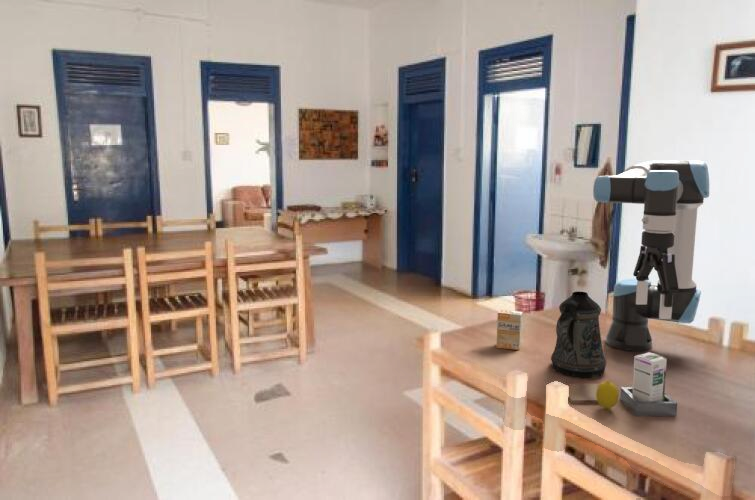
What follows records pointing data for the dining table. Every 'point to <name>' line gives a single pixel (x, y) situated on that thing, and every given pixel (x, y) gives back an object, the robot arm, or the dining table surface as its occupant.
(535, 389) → the dining table surface
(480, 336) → the dining table surface
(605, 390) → the lemon
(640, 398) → the syrup box
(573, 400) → the walnut board
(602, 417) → the dining table surface
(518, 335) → the supplement box
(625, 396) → the metal collar
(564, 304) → the beer stein
